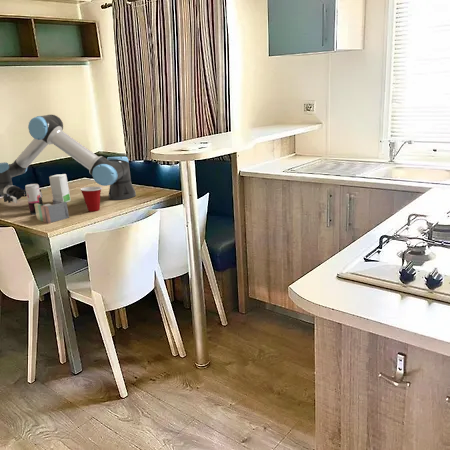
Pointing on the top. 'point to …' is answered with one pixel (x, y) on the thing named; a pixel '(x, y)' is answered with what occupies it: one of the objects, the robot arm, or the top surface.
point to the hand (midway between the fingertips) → (29, 197)
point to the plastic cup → (92, 198)
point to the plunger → (42, 202)
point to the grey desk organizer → (52, 211)
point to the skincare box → (60, 187)
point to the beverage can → (32, 196)
